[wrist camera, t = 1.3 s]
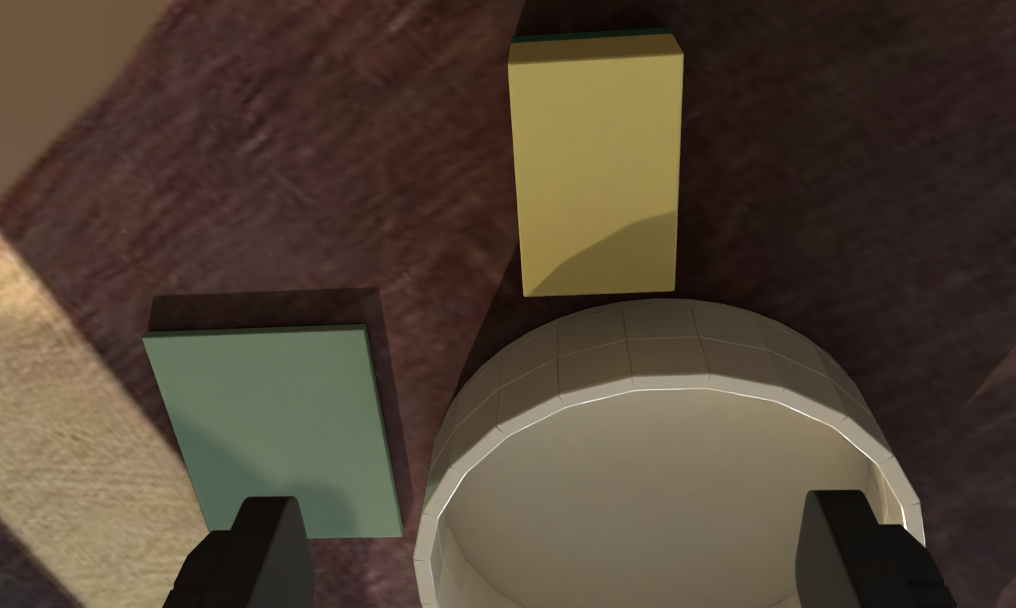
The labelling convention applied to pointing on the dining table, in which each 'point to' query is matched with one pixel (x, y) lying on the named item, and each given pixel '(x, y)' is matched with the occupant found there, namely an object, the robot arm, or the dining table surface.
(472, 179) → the dining table surface
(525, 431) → the wash bowl
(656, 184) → the sponge
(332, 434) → the mat
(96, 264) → the dining table surface
